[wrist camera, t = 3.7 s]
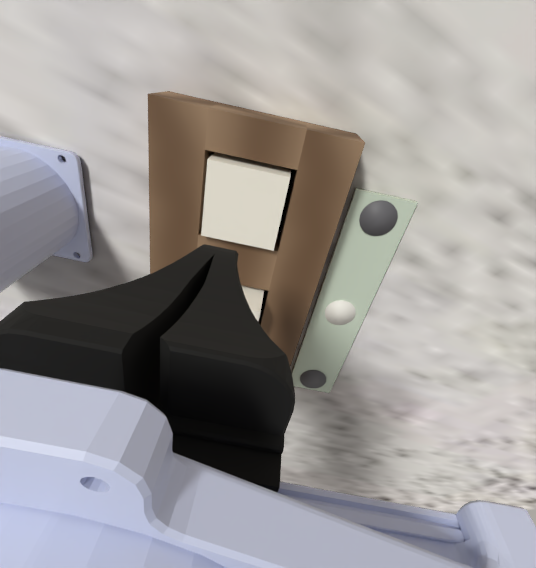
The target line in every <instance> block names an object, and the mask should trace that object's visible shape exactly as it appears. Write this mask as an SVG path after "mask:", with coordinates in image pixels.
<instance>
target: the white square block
mask: <svg viewBox="0 0 536 568" xmlns="http://www.w3.org/2000/svg"><path fill="white" fill-rule="evenodd" d="M290 176H291V169H290V168H286V167H281V166H277V165H272V164H267V163H263V162H258V161H254V160H249V159H245V158H240V157H236V156H231V155H227V154H222V153H218V152H215V153H214V154H213V155H211V156H210V157H209V158H208V159H207V171H206V183H205V195H204V207H203V219H202V231H201V236H206V237H211V238H215V239H220V240H225V241H230V242H234V243H239V244H244V245H249V246H253V247H258V248H263V249H268V250H272V251H274V247H275V243H276V238H277V234H278V230H279V225H280V221H281V216H282V212H283V208H284V203H285V199H286V194H287V190H288V186H289V181H290Z"/></svg>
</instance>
